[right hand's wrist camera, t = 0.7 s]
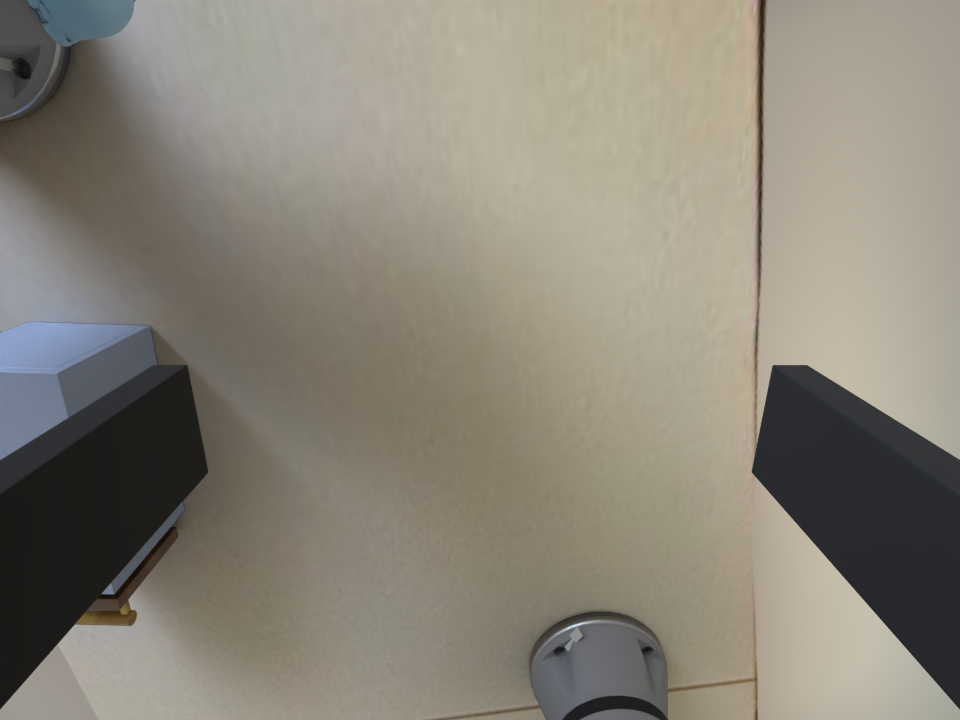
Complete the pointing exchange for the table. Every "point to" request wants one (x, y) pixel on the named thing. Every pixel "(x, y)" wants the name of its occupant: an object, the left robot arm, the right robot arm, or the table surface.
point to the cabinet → (68, 385)
